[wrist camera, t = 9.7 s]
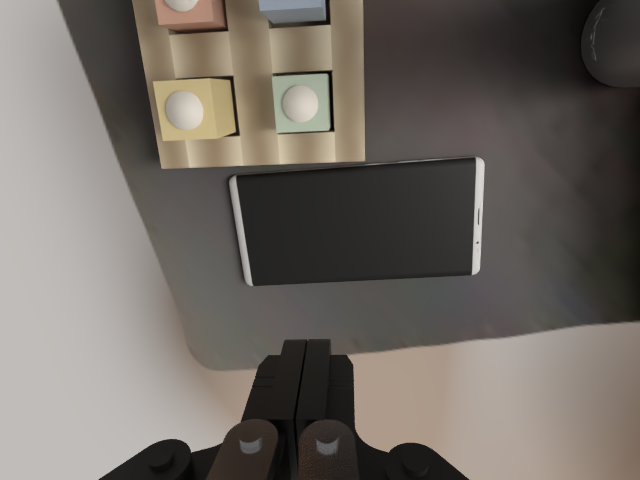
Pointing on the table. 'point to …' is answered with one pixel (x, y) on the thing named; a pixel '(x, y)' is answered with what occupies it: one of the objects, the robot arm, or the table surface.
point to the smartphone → (360, 221)
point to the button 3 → (293, 10)
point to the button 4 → (302, 103)
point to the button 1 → (192, 15)
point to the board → (262, 82)
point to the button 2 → (194, 109)
